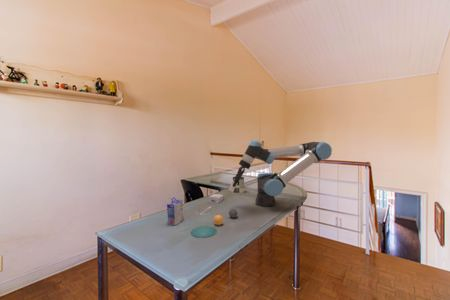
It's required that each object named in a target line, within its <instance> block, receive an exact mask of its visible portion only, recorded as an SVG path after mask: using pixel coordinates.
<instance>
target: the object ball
mask: <svg viewBox="0 0 450 300" xmlns="http://www.w3.org/2000/svg"><path fill="white" fill-rule="evenodd" d="M223 222H224V217H223V216H222V215H220V214H217V215H215V216H214V217H213V223H214V224H215V225H216V226H220V225H221V224H223Z"/></svg>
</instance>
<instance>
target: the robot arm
mask: <svg viewBox="0 0 450 300" xmlns="http://www.w3.org/2000/svg"><path fill="white" fill-rule="evenodd" d="M262 146H263V145H262V143H261V142H260V141H257V140H256V139H253V140H250V143H249V145H248V146H247V148H246V150H245V152H244V154H242V157H241V159H240V160H239V163H238V165H240V167H239V168H238V171H237V173H236V175H235V176H234V177H235V178H234V180H233V179H232V181H231V184H230V185H229V191H230V192H232V193H233V191H234V189H235V187H236V185H237V183H238V182H239V180H240V178H241V177H243V174H244V173H245V171H246V169H247V170H249V169H250V168H251V166H252V164H253V162H254V160H255V158H256V159H257V160H260V161H262V162H264V163H265V164H268V165H271V164H273V162H274V161H275V159H280V158H287V157H289V158H290V157H298V158H297V159H296V160H295V161H292V162H291V163H290V164H289V165H288V166H286V167H285V168H284V169H282V170H280V171H279V172H274V173H271V172H267V173H266V172H265V173H263V172H262V173H258V174H257V194H256V197H255V202H254V203H255V205H256V206H260V207H263V208H264V207H265V208H266V207H274V206H276V205H277V204H276V203H277V201H276V198H275V197H277V196H279V195H281V194H282V193H283V190H284V189H285V188H286V186H287V183H290V181H292V180H293V179H294V178H295V177H297V176H298V175H299V174H301V173H302V172H303V171H305V170H306V169H308V168H309V167H311V166H312V165H313V164H318V163H320V162H321V161H323V160H324V161H326V160H327V159H329V158H330V157H331V155H332V152H333V151H332V150H333V149H332V147H331V145H330V144H329V143H327V142H325V141H310V142H305V143H299V144H298V145H289V146H281V147H280V146H279V147H272V148H271V147H270V148H263V147H262Z"/></svg>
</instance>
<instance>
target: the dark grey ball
mask: <svg viewBox="0 0 450 300" xmlns="http://www.w3.org/2000/svg"><path fill="white" fill-rule="evenodd" d="M228 215H229V217H230V218H232V219H235V218H236V217H237V216H238V215H239V214H238V210H237V209H235V208H230V209H229V212H228Z"/></svg>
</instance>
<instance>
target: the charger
mask: <svg viewBox="0 0 450 300" xmlns="http://www.w3.org/2000/svg"><path fill="white" fill-rule="evenodd" d="M224 198H225V197H224V195H223V194H220V193H218V194H217V193H213V194H211V195H209V196H208V198H207V202H208V203H211V204H212V203H214V204H219V203H221V202H223V201H224V200H225V199H224Z"/></svg>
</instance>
